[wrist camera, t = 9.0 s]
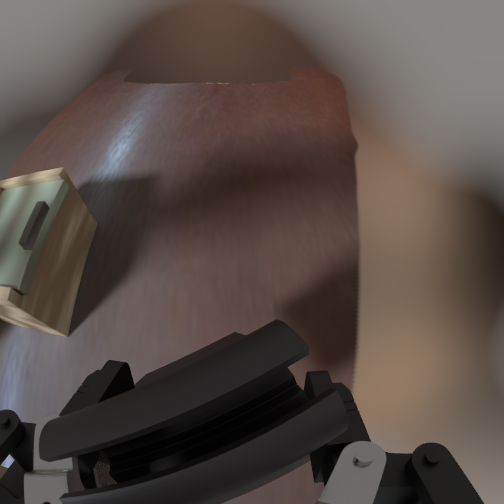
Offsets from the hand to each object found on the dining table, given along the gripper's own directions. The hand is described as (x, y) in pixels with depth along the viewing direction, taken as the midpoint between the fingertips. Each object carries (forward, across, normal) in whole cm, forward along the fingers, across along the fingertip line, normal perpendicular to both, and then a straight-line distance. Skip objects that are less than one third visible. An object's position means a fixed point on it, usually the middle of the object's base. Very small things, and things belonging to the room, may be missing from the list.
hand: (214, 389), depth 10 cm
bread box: (+21, +26, +3) cm, 34 cm away
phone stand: (+3, 0, +5) cm, 6 cm away
